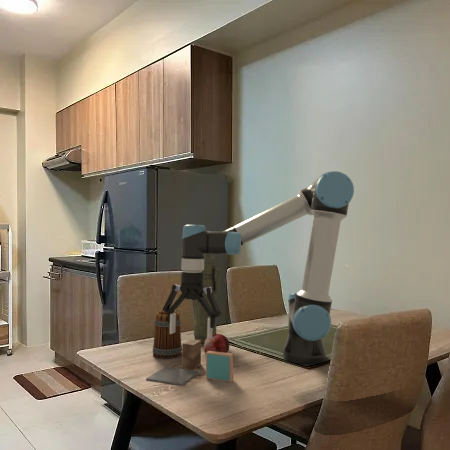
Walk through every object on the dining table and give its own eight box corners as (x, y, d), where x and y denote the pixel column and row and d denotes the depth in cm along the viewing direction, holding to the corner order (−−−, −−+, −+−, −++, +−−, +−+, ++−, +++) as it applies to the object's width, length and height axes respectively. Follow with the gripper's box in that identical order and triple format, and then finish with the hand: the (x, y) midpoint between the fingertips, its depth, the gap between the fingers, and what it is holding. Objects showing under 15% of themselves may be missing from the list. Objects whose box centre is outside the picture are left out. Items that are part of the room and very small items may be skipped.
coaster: (199, 372, 137) (199, 371, 137) (182, 385, 126) (182, 383, 126) (165, 367, 142) (165, 366, 142) (146, 379, 130) (146, 378, 130)
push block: (200, 364, 146) (201, 340, 146) (193, 369, 140) (193, 344, 140) (189, 362, 147) (190, 339, 147) (182, 368, 142) (182, 343, 142)
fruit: (232, 355, 157) (233, 327, 157) (224, 363, 148) (224, 333, 148) (209, 352, 160) (209, 325, 160) (199, 359, 151) (199, 331, 151)
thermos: (214, 345, 168) (215, 255, 168) (187, 342, 173) (188, 254, 173) (222, 340, 177) (224, 254, 177) (196, 337, 181) (197, 253, 181)
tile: (232, 380, 131) (233, 353, 131) (230, 382, 129) (230, 355, 129) (208, 376, 134) (208, 350, 134) (205, 378, 132) (205, 352, 132)
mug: (176, 359, 150) (177, 316, 150) (148, 357, 152) (148, 314, 152) (189, 347, 166) (189, 308, 166) (163, 345, 168) (163, 306, 168)
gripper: (231, 272, 143) (230, 337, 143) (164, 267, 152) (162, 328, 152) (223, 274, 136) (221, 342, 136) (153, 269, 145) (151, 333, 145)
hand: (190, 335), depth 144 cm, fingers open, 13 cm apart
